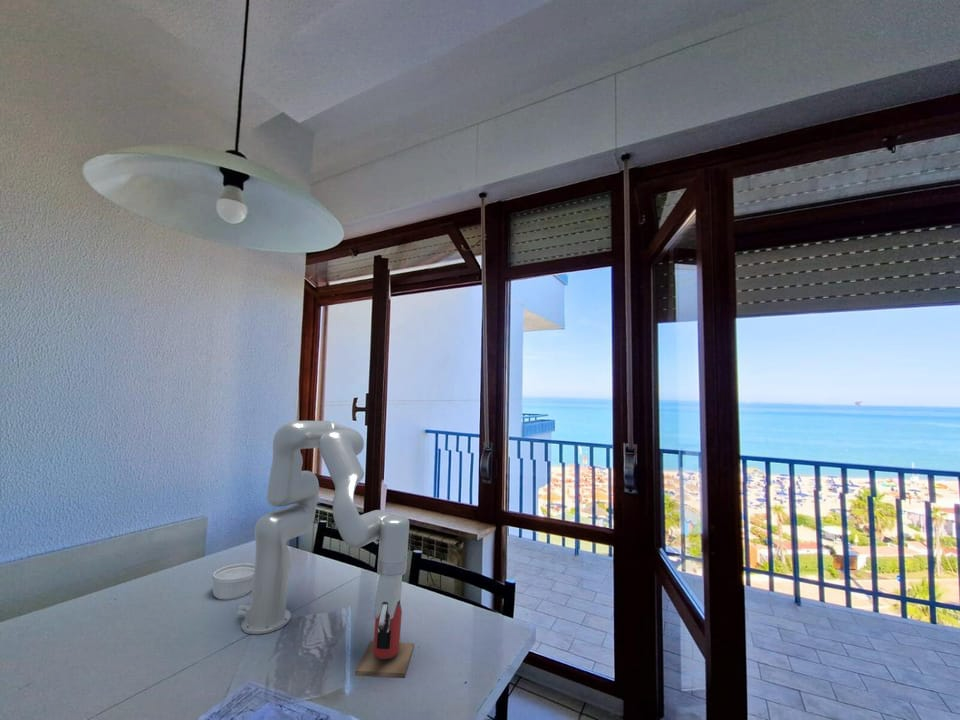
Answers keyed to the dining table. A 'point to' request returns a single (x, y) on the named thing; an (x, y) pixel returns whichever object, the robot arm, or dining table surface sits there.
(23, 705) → the dining table surface
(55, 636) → the dining table surface
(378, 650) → the beer can
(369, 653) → the coaster board
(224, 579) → the ramekin
